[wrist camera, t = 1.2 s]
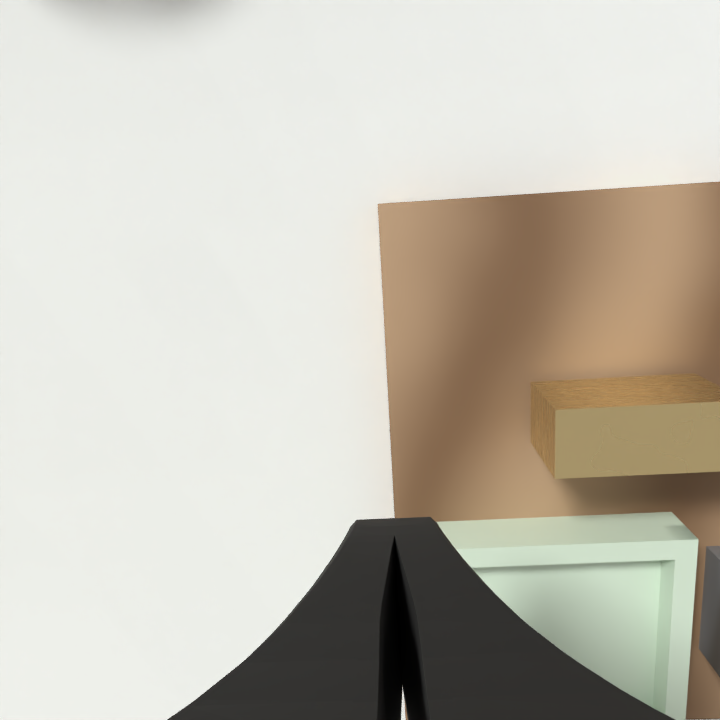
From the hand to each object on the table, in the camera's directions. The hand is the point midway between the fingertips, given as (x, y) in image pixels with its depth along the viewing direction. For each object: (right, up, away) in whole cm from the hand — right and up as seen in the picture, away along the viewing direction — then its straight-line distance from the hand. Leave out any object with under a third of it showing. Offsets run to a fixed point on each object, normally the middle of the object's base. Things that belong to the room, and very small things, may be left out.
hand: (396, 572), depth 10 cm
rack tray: (+5, -5, +9) cm, 12 cm away
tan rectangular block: (+6, +2, +7) cm, 10 cm away
